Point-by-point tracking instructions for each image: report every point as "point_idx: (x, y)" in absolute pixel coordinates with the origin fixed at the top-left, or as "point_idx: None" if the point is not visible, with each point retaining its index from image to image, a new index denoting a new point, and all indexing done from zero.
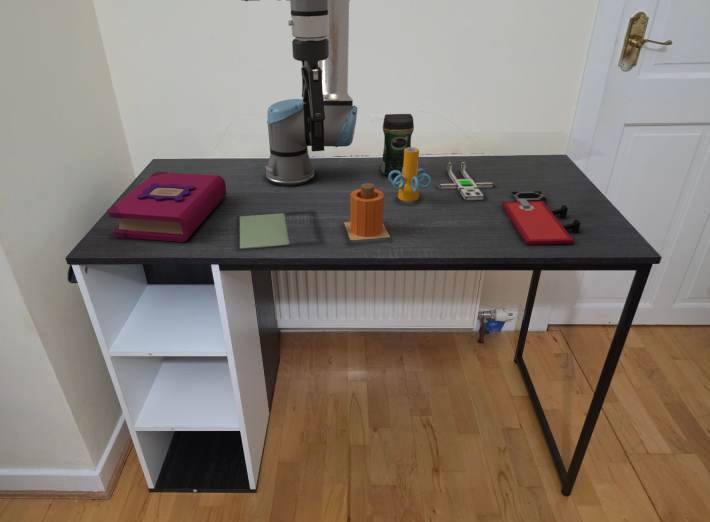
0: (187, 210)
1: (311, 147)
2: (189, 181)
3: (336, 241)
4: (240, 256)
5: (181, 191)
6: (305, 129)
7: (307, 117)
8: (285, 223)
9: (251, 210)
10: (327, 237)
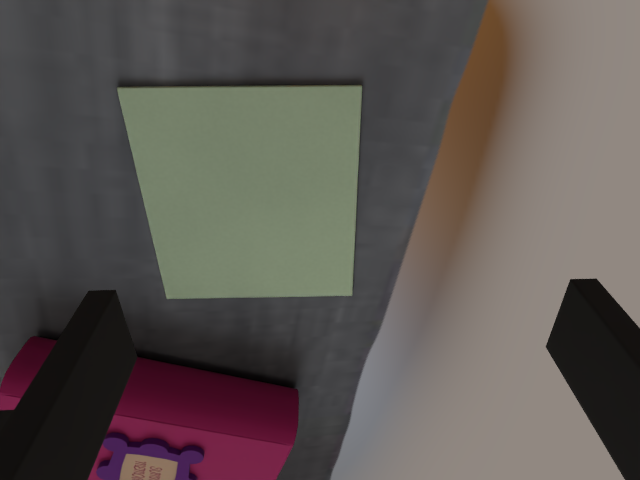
0: (251, 433)
1: (558, 363)
2: None
3: (361, 28)
4: (385, 291)
5: (141, 455)
6: (129, 373)
7: (83, 446)
8: (218, 186)
9: (115, 270)
10: (325, 57)
